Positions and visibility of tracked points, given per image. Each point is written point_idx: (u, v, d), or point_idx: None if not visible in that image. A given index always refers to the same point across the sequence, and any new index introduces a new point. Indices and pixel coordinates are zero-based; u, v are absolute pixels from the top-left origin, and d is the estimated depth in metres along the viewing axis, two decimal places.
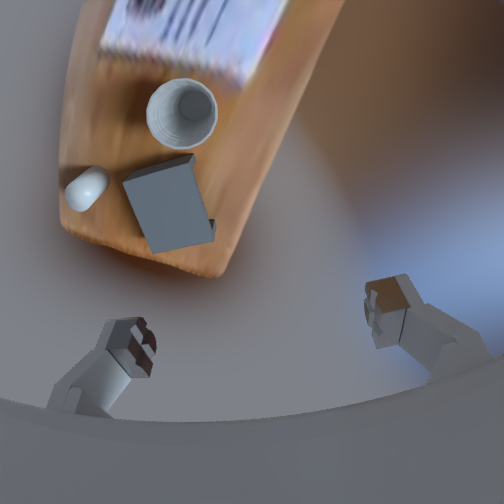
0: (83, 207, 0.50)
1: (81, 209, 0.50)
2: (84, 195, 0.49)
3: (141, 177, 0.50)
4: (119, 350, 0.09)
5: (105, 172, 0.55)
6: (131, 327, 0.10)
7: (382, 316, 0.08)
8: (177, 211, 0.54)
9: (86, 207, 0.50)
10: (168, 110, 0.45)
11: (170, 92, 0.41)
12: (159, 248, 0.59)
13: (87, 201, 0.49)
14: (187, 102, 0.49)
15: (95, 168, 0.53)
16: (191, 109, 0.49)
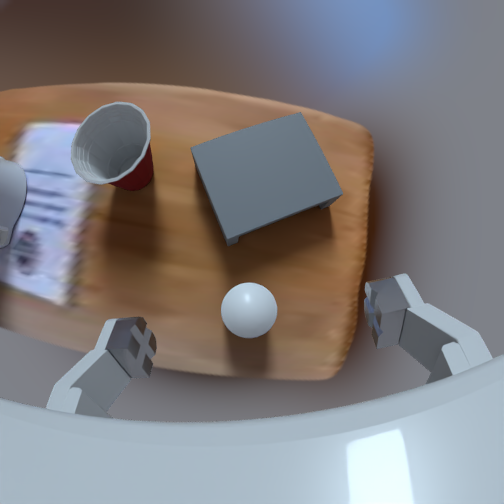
0: (268, 300, 0.33)
1: (272, 304, 0.33)
2: (245, 296, 0.33)
3: (216, 208, 0.37)
4: (119, 350, 0.09)
5: None
6: (131, 327, 0.10)
7: (382, 316, 0.08)
8: (263, 155, 0.38)
9: (267, 293, 0.33)
10: None
11: (96, 174, 0.34)
12: (331, 182, 0.38)
13: (254, 291, 0.33)
14: None
15: None
16: None
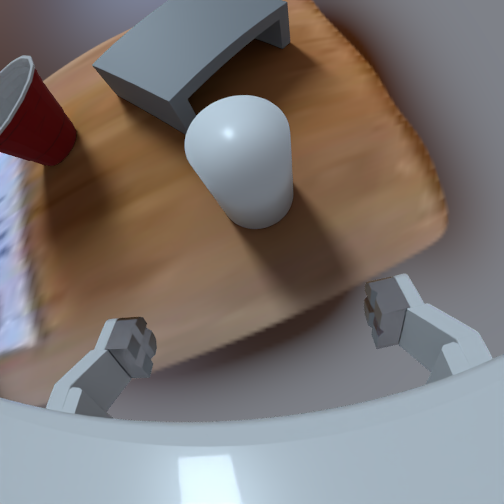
0: (257, 105, 0.16)
1: (268, 107, 0.16)
2: (216, 121, 0.16)
3: (141, 85, 0.22)
4: (119, 350, 0.09)
5: None
6: (131, 327, 0.10)
7: (382, 316, 0.08)
8: (174, 21, 0.23)
9: (250, 99, 0.17)
10: None
11: (1, 150, 0.21)
12: (265, 1, 0.22)
13: (227, 107, 0.17)
14: None
15: None
16: None
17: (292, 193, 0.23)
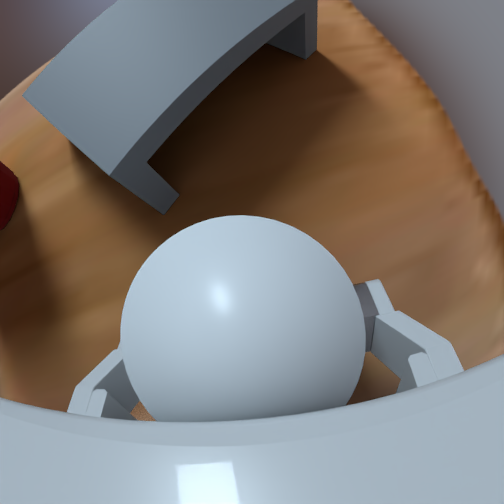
0: (282, 252, 0.07)
1: (310, 259, 0.07)
2: (182, 297, 0.07)
3: (72, 137, 0.12)
4: None
5: None
6: None
7: None
8: (135, 18, 0.14)
9: (263, 231, 0.07)
10: None
11: None
12: None
13: (207, 254, 0.07)
14: None
15: None
16: None
17: None
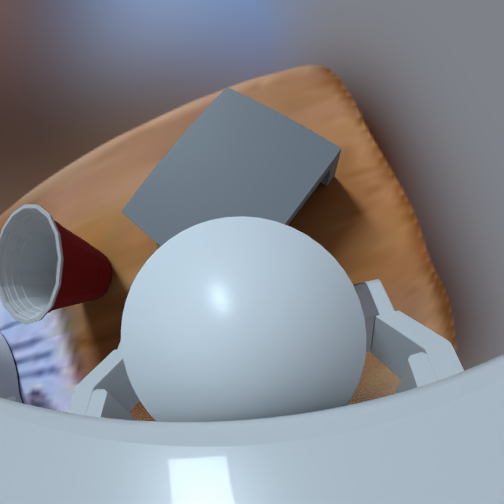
0: (283, 253, 0.07)
1: (311, 260, 0.07)
2: (183, 299, 0.07)
3: None
4: None
5: None
6: None
7: None
8: (212, 165, 0.26)
9: (264, 233, 0.07)
10: None
11: (40, 306, 0.24)
12: (317, 144, 0.25)
13: (207, 254, 0.07)
14: None
15: None
16: None
17: None
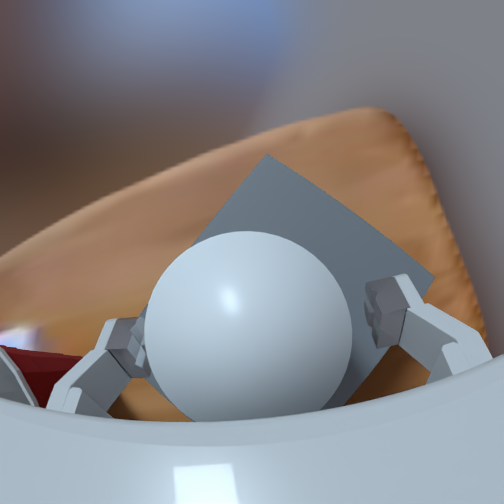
0: (283, 263, 0.08)
1: (306, 268, 0.08)
2: (199, 300, 0.09)
3: None
4: (119, 350, 0.09)
5: None
6: (131, 327, 0.10)
7: (382, 316, 0.08)
8: None
9: (266, 245, 0.09)
10: None
11: None
12: (405, 271, 0.16)
13: (219, 263, 0.09)
14: None
15: None
16: None
17: None
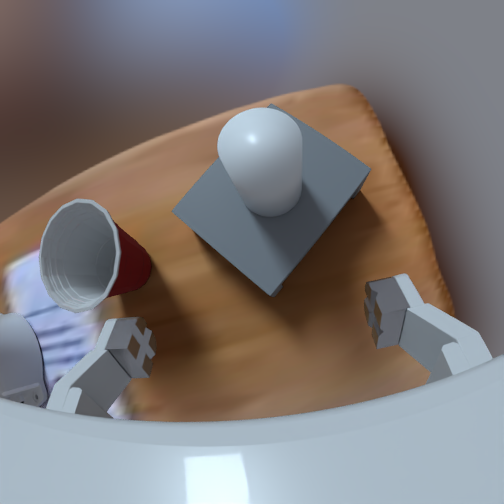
0: (275, 117, 0.21)
1: (284, 118, 0.20)
2: (242, 129, 0.21)
3: (238, 266, 0.28)
4: (119, 350, 0.09)
5: None
6: (131, 327, 0.10)
7: (382, 316, 0.08)
8: None
9: (269, 112, 0.21)
10: None
11: (85, 295, 0.28)
12: (351, 164, 0.28)
13: (251, 117, 0.21)
14: None
15: None
16: None
17: (301, 187, 0.27)
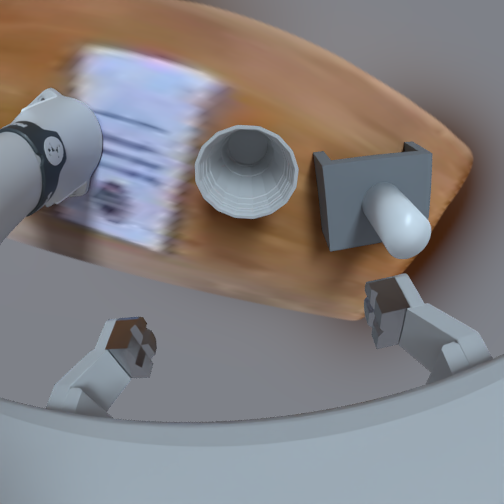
0: (426, 231, 0.31)
1: (427, 235, 0.31)
2: (410, 225, 0.30)
3: (329, 227, 0.41)
4: (119, 350, 0.09)
5: (376, 187, 0.37)
6: (131, 327, 0.10)
7: (382, 316, 0.08)
8: None
9: (427, 226, 0.30)
10: (246, 182, 0.38)
11: (218, 181, 0.35)
12: None
13: (419, 222, 0.30)
14: (242, 154, 0.41)
15: (368, 201, 0.37)
16: (252, 150, 0.41)
17: None
